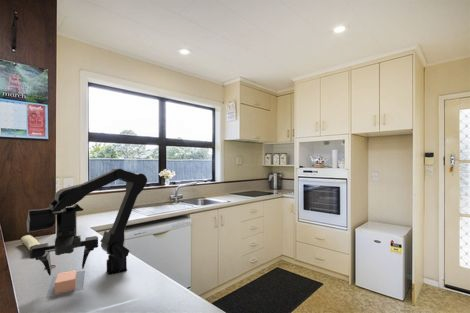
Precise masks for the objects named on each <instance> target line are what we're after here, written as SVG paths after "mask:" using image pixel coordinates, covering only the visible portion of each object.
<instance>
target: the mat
mask: <svg viewBox="0 0 470 313" xmlns="http://www.w3.org/2000/svg"><path fill="white" fill-rule="evenodd" d="M85 273H86V270H82V271H77V282H76V288H75V290H71V291H67V292H62V293H58V294H55V281H56V278H57V275H56V276H53V277H52V279H51V282H50V284H49V287H48V289H47V293H46V295H45V299H48V298H51V297H56V296H59V295H64V294H69V293H73V292H76V291H80V290H84V283H85V276H86V275H85Z"/></svg>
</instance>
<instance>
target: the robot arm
mask: <svg viewBox="0 0 470 313" xmlns="http://www.w3.org/2000/svg"><path fill="white" fill-rule="evenodd" d="M118 180H120V181H122V182H125V194H124V196H123V199H122V202H121V204H120V207H119V208H118V209H119V210H118V211H117V214H116V217H115V219H114V222H113V225H112V227H111V229H109V230H108V231H107V230H105V231H104V232H103V236H102V237H101V240H99V237H98V236H97V235H94V236H88V237H87V236H86V237H85V238H84V240H82V239H81V235H77V234H78V233H77V232H78V230H77V229H78V228H77V224H78V223H77V216H78V215H77V212H82V211H84V208H83V207H81V206H80V205H79V204H78V203H79V202H80V201H81V200H83V199H85V197H86V196H87V195H89V194H90V193H92V192H95V191H97V190H100V189H101V188H103V187H105V186H107V185H109V184H112V183H113V182H115V181H118ZM147 184H148V178H147V176H146V175H145V174H144V173H137V172H132V171H131V172H130V171H127V170H124V169H122V168H112V170H110V171H107V172H106V173H103V174H101V175H99V176H96V177H94V178H92V179H90V180H88V181H84V182H83V183H81V184H76V185H72V186H71V185H70V186H68V187H65V188H61V189H59V190H57V191H56V193H55V195H54V199H53V200H52V201H51V203H50V204H49V205H48V206H47V208H41V209H28V211H27V212H28V213H27V219H26V231H27V233H34V232H38V231H45V230H50V229H51V228H52V227H54V226H55V225H56V226H55V228H56V229H55V230H56V231H55V233H56V237H55V240H54V244H53V245H49V243H48V242H46V243H40V244H38V245H35V246H34V247H33V248H32V249H31V251H30V252H29V259H32V260H33V259H35V260H36V261H39V262H41V263H42V265H44V269H45V268H46V269H45V270H46V272H47V274H48V276H52V269H51V267H52V266H51V265H52V264H51V254H50V252H52V253H53V252H54V255H55V256H61V255H64V254H72V253H73V252H74V249H76V248H77V249H78V248H81V247H84V250H83V256H82V262H81V263H82V264H81V269H82V270H83V269H85V265H86V262H87V259H88V257H89V256H90V255H89V254H90V252H92V251H94V250H95V249H97V248H98V247H99V241H100V243H101V244H100V247H101V249H102V250H103V251H105V252H106V254H107V255H108V258H107V259H106V273H107V274H108V275H109V276H112V275H115V274H116V275H117V274H121V273H124V272H125V273H126V272H127V271H128V268H127V263H128V262H127V257H129V253H130V249H128V248H127V247H125V246H124V243H125V230H126V227H127V224H128V223H129V222H128V221H129V219H130V217H131V214H132V211H133V209H134V206H135V204H136V201H137V198H138V196H139V195H140V194H141V193H142V192H143V190H144V189H145V187H146V186H147Z"/></svg>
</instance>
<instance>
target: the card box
mask: <svg viewBox="0 0 470 313" xmlns="http://www.w3.org/2000/svg"><path fill="white" fill-rule="evenodd" d="M77 272H78V270H77V269H73V270H69V271H65V272H58V273H57V275H56V276H57V278H56V281H55V294H58V293H62V292H67V291H71V290H75V288H76V282H77Z"/></svg>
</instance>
